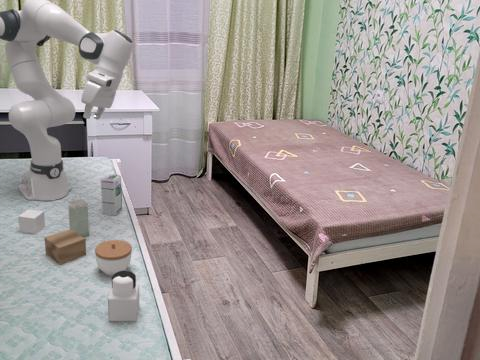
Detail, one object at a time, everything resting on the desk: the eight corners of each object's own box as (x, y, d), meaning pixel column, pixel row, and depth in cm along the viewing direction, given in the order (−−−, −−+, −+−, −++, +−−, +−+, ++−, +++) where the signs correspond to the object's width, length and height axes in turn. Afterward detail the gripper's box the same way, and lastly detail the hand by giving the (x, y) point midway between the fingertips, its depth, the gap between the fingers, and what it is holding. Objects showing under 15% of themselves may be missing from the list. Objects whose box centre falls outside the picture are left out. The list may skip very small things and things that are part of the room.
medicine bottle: (113, 305, 134) (111, 267, 130) (139, 305, 135) (139, 267, 130) (108, 321, 127) (107, 282, 123) (136, 322, 128) (136, 282, 124)
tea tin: (69, 234, 170) (67, 202, 165) (82, 230, 173) (80, 198, 169) (76, 239, 167) (75, 206, 162) (89, 235, 170) (88, 203, 166)
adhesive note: (36, 234, 168) (34, 218, 166) (19, 232, 169) (18, 216, 167) (45, 226, 174) (43, 211, 172) (29, 224, 175) (27, 209, 173)
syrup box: (116, 216, 186) (115, 180, 180) (101, 213, 187) (100, 178, 181) (122, 210, 191) (121, 175, 186) (108, 208, 192) (107, 173, 187)
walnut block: (45, 254, 157) (44, 237, 155) (71, 245, 163) (70, 229, 161) (60, 265, 151) (59, 247, 149) (86, 255, 158) (85, 238, 156)
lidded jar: (100, 282, 144) (99, 254, 140) (92, 265, 152) (91, 238, 149) (136, 275, 148) (135, 248, 145) (126, 258, 157) (126, 232, 154)
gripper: (107, 79, 173) (93, 115, 174) (86, 72, 152) (70, 113, 154) (124, 86, 173) (109, 122, 174) (104, 80, 152) (88, 121, 154)
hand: (91, 118), depth 164 cm, fingers open, 8 cm apart
